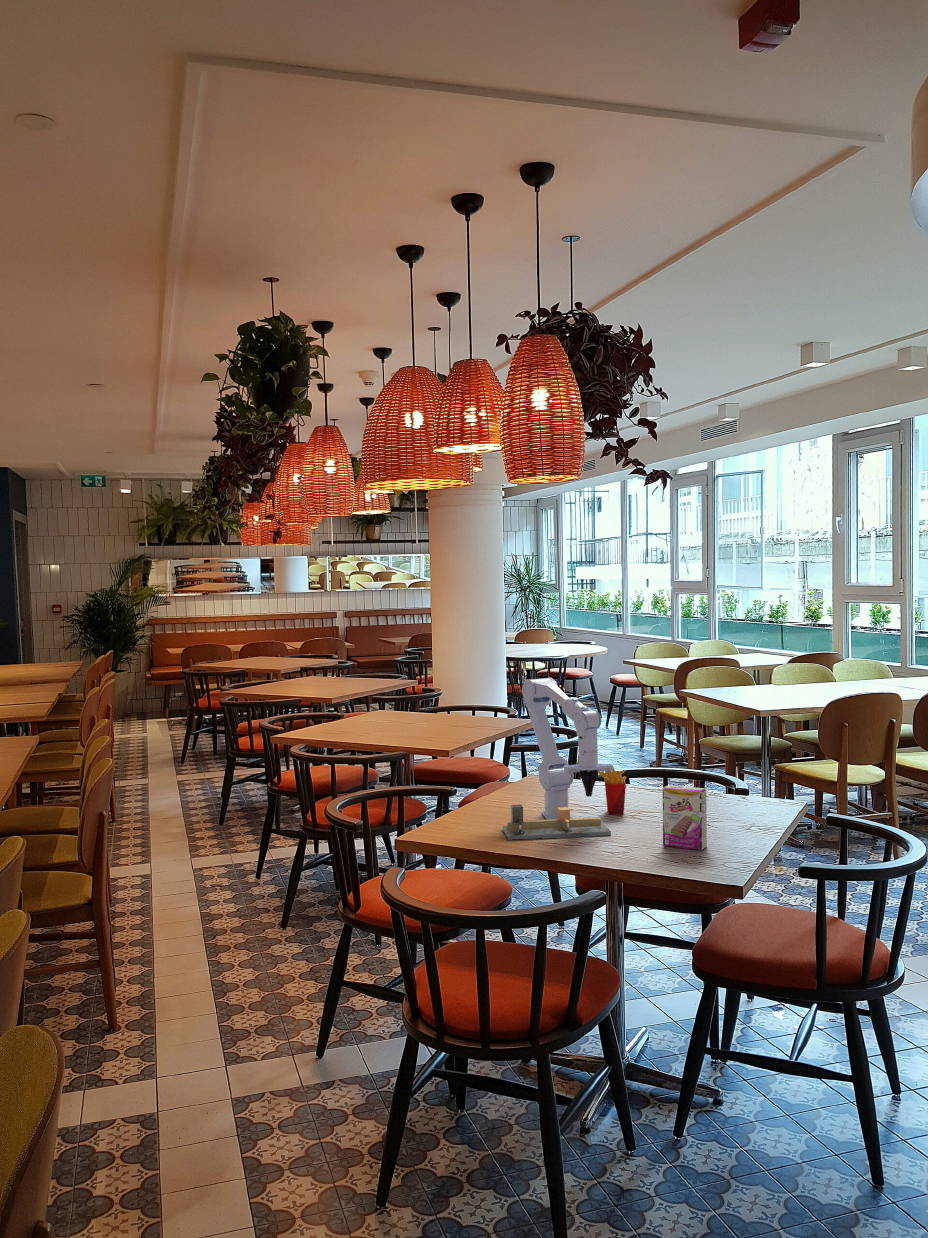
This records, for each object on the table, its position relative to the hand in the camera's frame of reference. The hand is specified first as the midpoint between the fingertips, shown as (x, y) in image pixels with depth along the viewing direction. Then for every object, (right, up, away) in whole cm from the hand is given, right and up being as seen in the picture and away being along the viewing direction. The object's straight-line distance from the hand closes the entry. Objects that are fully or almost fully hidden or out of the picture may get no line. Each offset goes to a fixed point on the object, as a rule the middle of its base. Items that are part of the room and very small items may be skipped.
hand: (588, 796), depth 285 cm
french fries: (+10, -9, +17) cm, 21 cm away
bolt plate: (-10, -10, -5) cm, 15 cm away
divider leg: (-7, -8, -5) cm, 12 cm away
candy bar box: (+23, -10, -23) cm, 35 cm away
